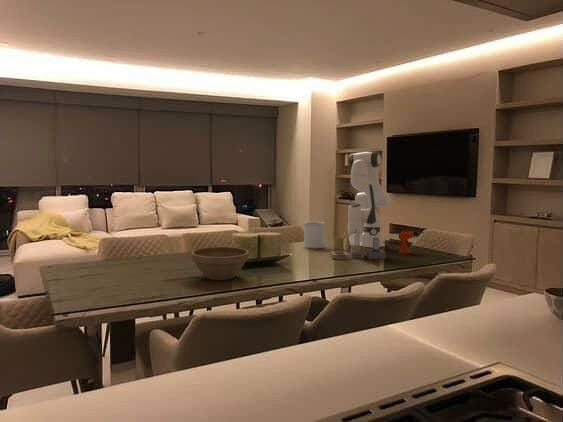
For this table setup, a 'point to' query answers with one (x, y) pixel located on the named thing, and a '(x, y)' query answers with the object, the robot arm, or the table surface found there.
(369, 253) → the socket block
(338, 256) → the rack
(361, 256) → the guide channel
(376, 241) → the drill bit
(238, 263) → the flower pot
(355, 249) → the release bar
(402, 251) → the toy drill
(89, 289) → the table surface
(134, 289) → the table surface
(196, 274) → the table surface
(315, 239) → the utensil holder
